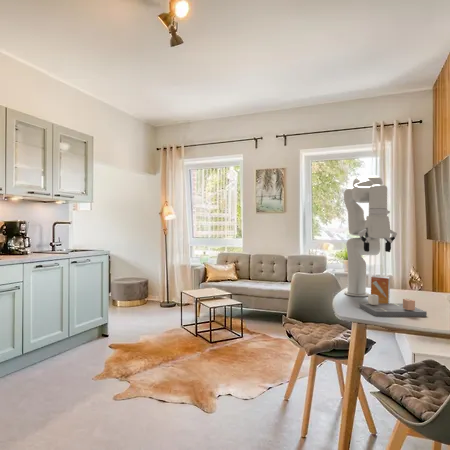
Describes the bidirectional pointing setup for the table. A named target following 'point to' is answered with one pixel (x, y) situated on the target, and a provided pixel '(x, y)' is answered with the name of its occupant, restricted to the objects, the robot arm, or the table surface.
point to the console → (391, 310)
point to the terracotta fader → (408, 304)
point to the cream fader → (372, 299)
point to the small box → (381, 288)
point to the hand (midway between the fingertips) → (377, 251)
